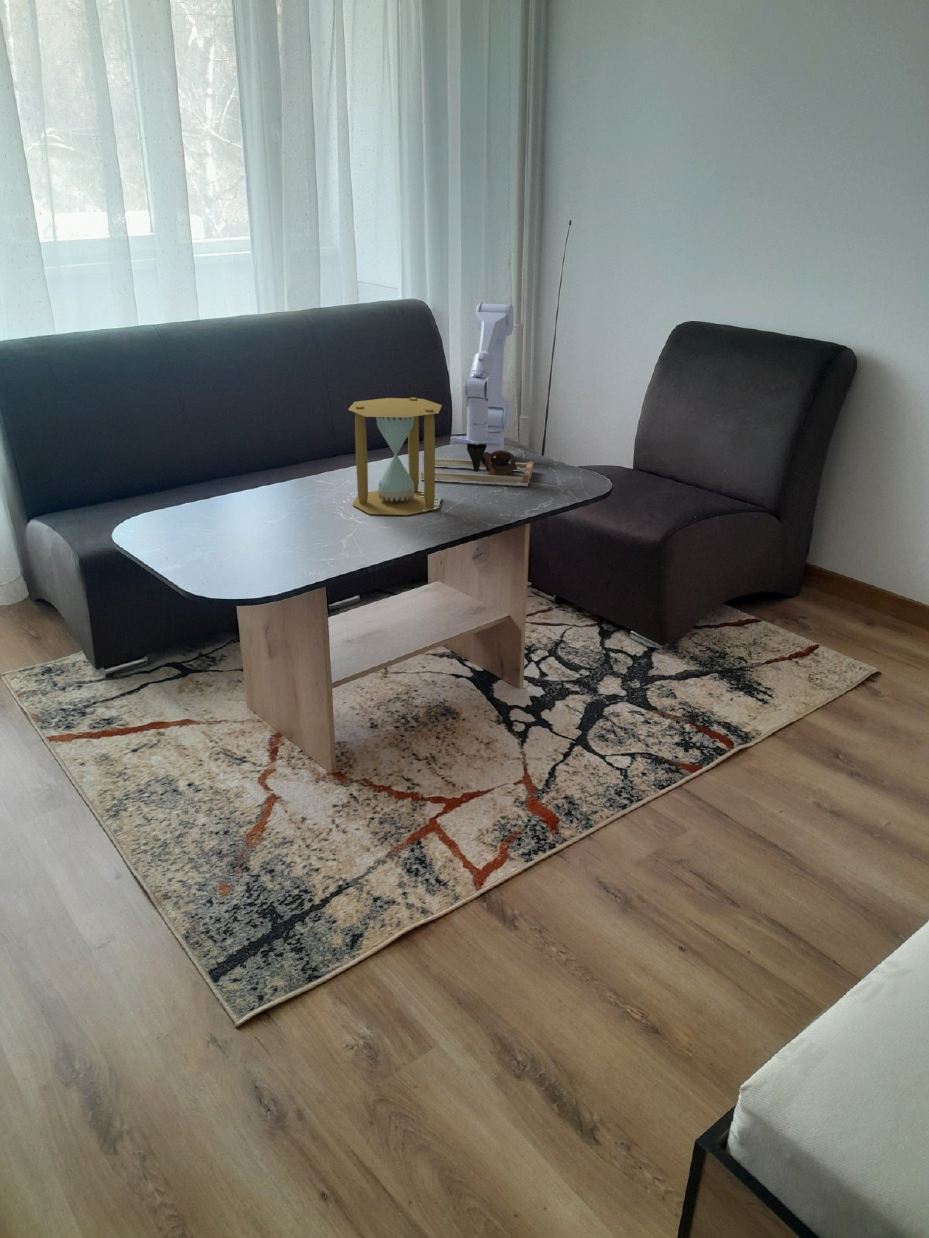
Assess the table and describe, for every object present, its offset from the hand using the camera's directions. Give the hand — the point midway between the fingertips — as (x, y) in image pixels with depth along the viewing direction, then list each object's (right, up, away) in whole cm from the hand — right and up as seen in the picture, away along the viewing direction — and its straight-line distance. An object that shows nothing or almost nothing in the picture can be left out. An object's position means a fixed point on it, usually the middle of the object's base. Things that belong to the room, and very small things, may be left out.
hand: (476, 470), depth 262 cm
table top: (0, -1, +1) cm, 2 cm away
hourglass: (-20, -12, -22) cm, 32 cm away
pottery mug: (+6, -1, +2) cm, 6 cm away
